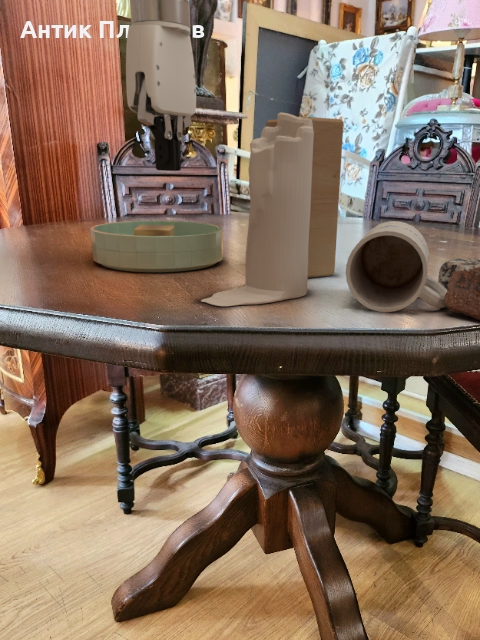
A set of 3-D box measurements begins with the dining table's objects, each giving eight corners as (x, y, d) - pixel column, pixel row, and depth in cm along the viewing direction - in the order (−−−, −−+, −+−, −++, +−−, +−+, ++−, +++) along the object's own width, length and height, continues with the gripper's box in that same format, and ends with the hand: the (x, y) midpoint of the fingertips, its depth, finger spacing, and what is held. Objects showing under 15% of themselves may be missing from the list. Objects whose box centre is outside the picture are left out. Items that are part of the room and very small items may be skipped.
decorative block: (262, 265, 85) (264, 119, 77) (294, 262, 87) (299, 122, 80) (302, 279, 76) (308, 116, 68) (336, 275, 79) (345, 119, 71)
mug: (343, 258, 70) (329, 273, 61) (392, 205, 66) (385, 213, 57) (413, 326, 71) (409, 350, 62) (465, 277, 67) (470, 296, 58)
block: (136, 265, 79) (133, 229, 77) (142, 259, 83) (139, 224, 81) (172, 266, 79) (170, 229, 77) (176, 259, 84) (174, 225, 82)
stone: (464, 273, 63) (452, 259, 61) (529, 270, 58) (518, 255, 56) (450, 326, 62) (437, 314, 60) (514, 328, 57) (503, 315, 55)
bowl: (76, 272, 76) (71, 234, 74) (112, 250, 94) (109, 219, 92) (217, 275, 77) (216, 238, 75) (226, 252, 95) (226, 222, 93)
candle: (189, 298, 64) (182, 104, 56) (279, 283, 73) (283, 114, 65) (228, 311, 59) (225, 100, 52) (319, 293, 68) (328, 112, 60)
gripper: (171, 32, 80) (177, 169, 87) (97, 7, 67) (111, 170, 74) (216, 29, 77) (218, 171, 84) (148, 3, 65) (157, 172, 72)
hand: (168, 170), depth 79 cm, fingers closed
